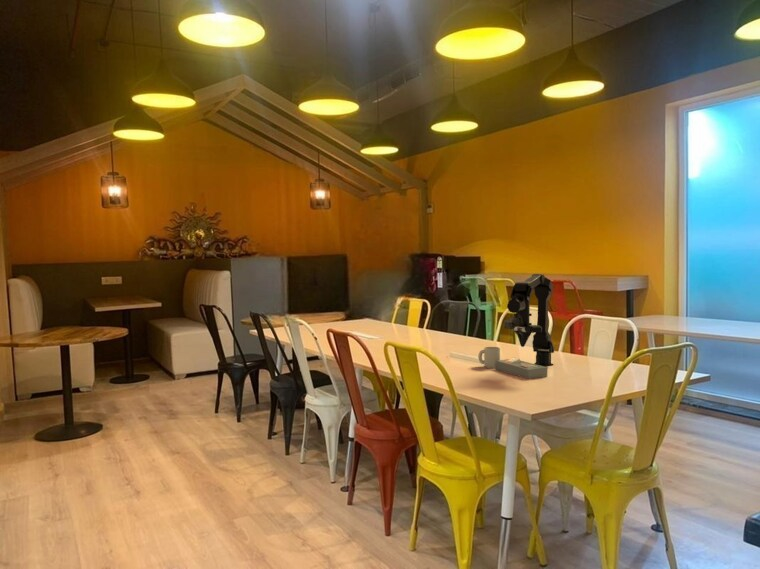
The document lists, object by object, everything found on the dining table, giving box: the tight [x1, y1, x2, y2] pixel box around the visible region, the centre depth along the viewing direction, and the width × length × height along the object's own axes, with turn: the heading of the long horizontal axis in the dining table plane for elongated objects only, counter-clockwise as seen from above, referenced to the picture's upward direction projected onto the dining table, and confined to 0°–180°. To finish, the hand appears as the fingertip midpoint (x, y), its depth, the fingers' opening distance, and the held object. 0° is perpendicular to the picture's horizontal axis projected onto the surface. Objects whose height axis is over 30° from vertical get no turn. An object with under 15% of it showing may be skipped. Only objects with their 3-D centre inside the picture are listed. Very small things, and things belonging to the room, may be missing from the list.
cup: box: [478, 346, 501, 369], centre depth 266 cm, size 7×10×9 cm
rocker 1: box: [505, 357, 521, 363], centre depth 256 cm, size 6×4×1 cm, turn 115°
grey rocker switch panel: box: [495, 358, 548, 380], centre depth 251 cm, size 10×23×4 cm, turn 25°
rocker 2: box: [521, 363, 537, 368], centre depth 246 cm, size 6×4×1 cm, turn 115°
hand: (522, 346), depth 246 cm, fingers closed
